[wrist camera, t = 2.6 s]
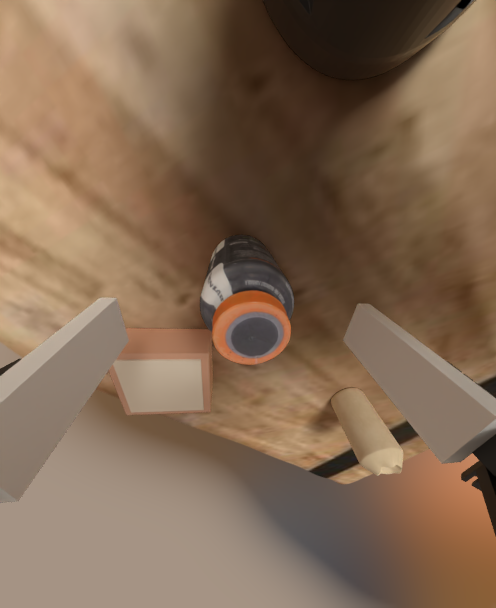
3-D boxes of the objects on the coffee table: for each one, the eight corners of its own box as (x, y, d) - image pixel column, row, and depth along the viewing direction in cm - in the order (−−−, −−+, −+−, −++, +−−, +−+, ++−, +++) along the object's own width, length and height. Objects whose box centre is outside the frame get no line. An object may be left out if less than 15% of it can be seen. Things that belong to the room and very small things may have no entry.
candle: (328, 409, 33) (362, 485, 25) (332, 389, 30) (373, 466, 22) (359, 405, 33) (404, 479, 25) (366, 385, 31) (420, 459, 22)
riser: (122, 328, 22) (100, 355, 18) (211, 329, 23) (208, 354, 19) (139, 386, 26) (125, 416, 23) (212, 384, 28) (210, 413, 24)
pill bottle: (198, 256, 18) (161, 325, 8) (250, 220, 17) (278, 254, 7) (232, 301, 21) (235, 393, 11) (280, 273, 20) (329, 348, 10)
